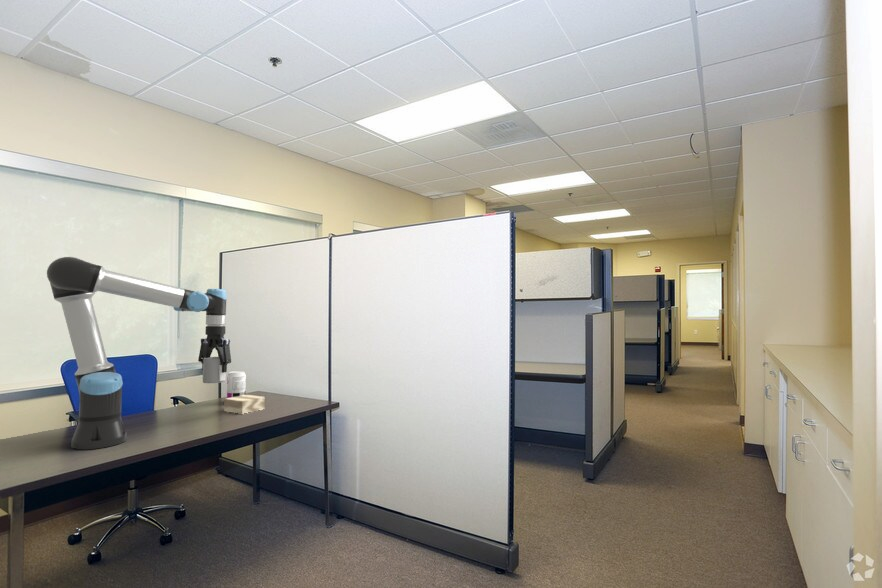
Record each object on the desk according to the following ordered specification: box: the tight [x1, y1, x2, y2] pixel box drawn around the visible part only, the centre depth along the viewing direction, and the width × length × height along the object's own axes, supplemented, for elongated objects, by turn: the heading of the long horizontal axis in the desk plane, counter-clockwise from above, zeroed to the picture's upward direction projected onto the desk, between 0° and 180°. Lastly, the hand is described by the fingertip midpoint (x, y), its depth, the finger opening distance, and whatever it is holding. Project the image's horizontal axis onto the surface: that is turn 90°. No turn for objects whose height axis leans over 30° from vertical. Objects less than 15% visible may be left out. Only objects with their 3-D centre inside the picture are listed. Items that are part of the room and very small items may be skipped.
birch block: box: [223, 393, 266, 415], centre depth 205 cm, size 12×12×6 cm
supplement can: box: [226, 370, 247, 398], centre depth 221 cm, size 8×8×15 cm
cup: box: [202, 356, 226, 384], centre depth 190 cm, size 8×8×10 cm
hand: (214, 379), depth 190 cm, fingers closed on cup, 8 cm apart
